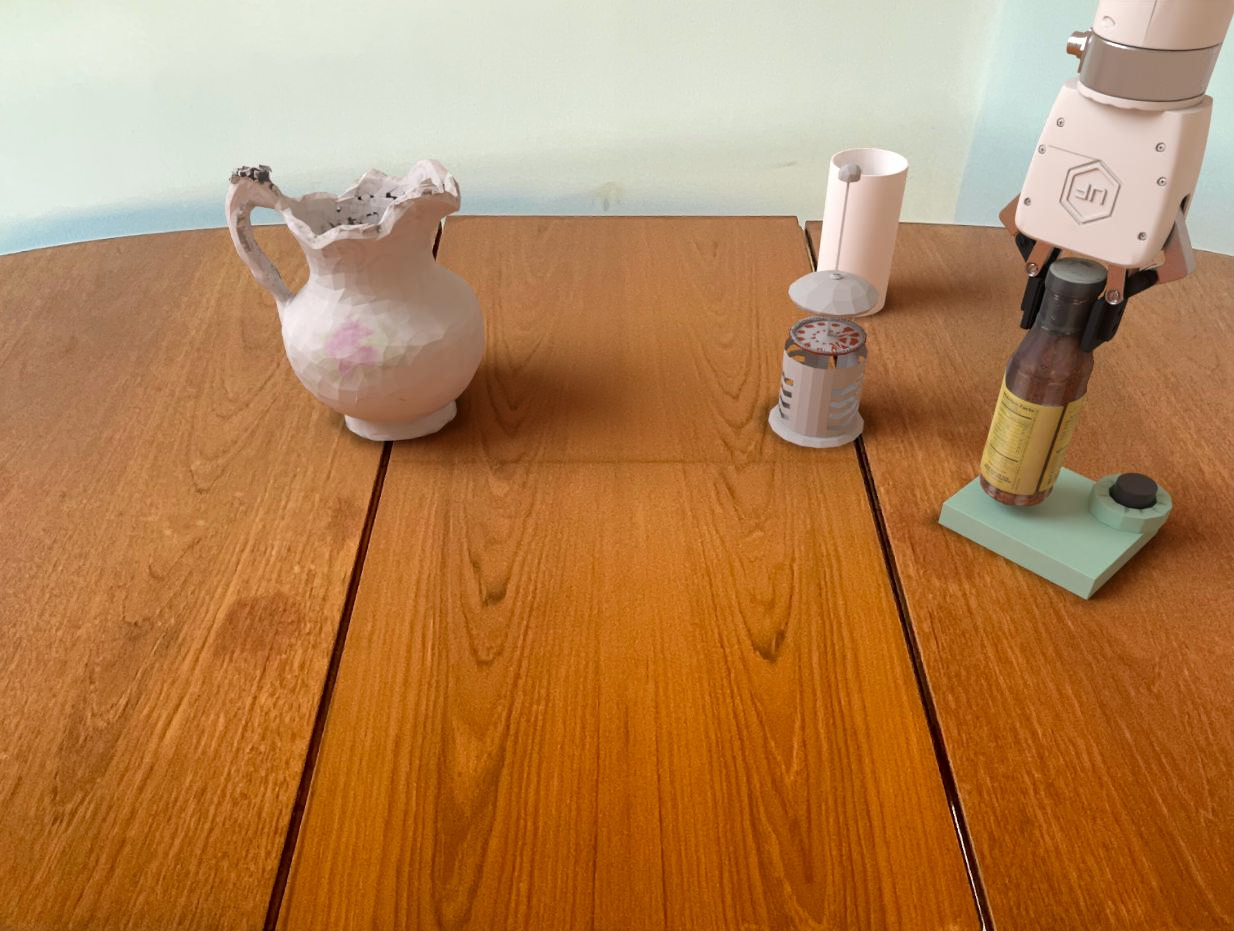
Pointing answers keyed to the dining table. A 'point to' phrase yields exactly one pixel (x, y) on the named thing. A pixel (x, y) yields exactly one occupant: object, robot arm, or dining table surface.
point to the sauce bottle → (1043, 389)
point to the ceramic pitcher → (370, 297)
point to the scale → (1060, 529)
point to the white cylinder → (864, 216)
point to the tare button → (1134, 491)
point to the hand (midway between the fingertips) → (1063, 331)
